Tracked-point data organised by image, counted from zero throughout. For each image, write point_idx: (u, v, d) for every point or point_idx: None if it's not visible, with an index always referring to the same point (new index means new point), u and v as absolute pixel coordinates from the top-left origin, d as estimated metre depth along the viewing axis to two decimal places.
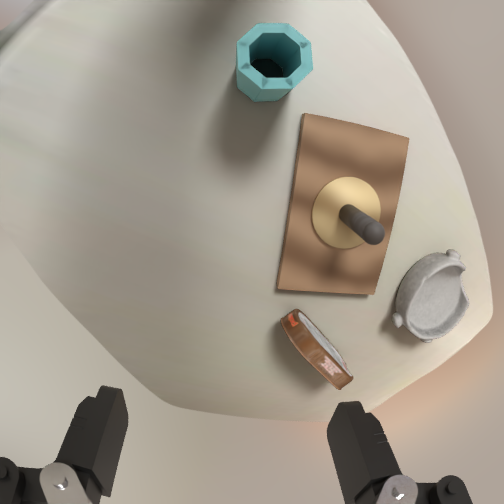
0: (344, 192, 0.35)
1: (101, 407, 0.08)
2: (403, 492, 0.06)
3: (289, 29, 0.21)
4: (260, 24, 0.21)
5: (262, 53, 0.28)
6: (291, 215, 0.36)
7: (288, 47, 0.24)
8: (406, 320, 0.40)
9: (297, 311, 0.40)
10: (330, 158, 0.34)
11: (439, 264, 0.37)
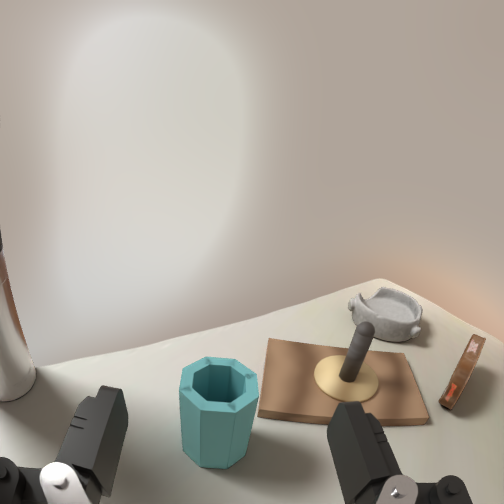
0: (329, 379, 0.36)
1: (101, 407, 0.08)
2: (403, 492, 0.06)
3: (190, 368, 0.25)
4: (180, 388, 0.22)
5: None
6: None
7: (202, 386, 0.26)
8: (413, 322, 0.46)
9: (441, 396, 0.32)
10: (301, 391, 0.34)
11: (363, 309, 0.50)
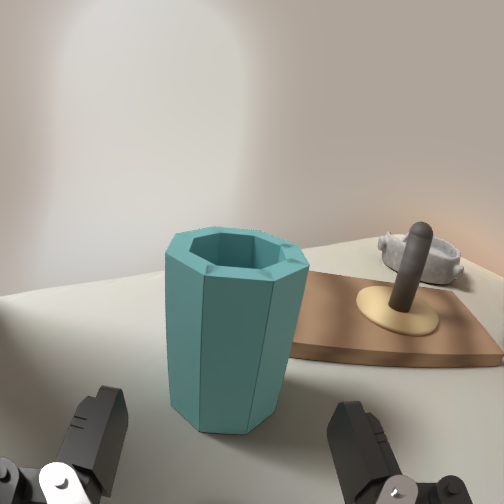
0: (379, 309, 0.27)
1: (101, 407, 0.08)
2: (403, 492, 0.06)
3: (187, 234, 0.16)
4: (169, 250, 0.13)
5: None
6: (431, 352, 0.21)
7: None
8: (455, 259, 0.37)
9: None
10: (345, 322, 0.25)
11: (398, 244, 0.41)
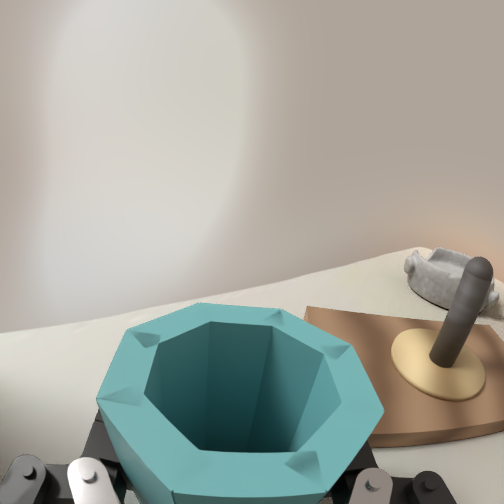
0: (420, 366, 0.19)
1: None
2: (376, 485, 0.06)
3: (148, 330, 0.08)
4: (104, 392, 0.06)
5: None
6: (480, 422, 0.14)
7: (189, 390, 0.09)
8: (491, 284, 0.30)
9: None
10: (381, 390, 0.17)
11: (429, 268, 0.33)
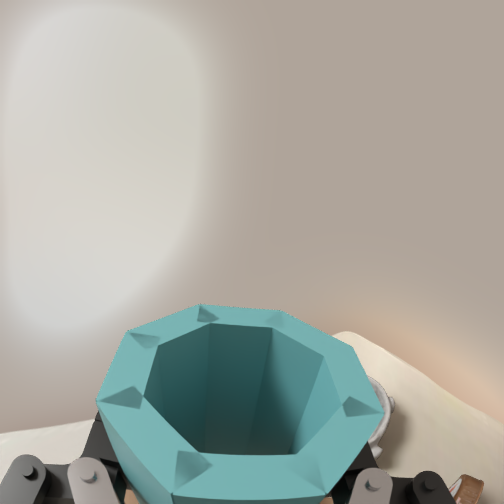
0: None
1: None
2: (376, 485, 0.06)
3: (148, 332, 0.08)
4: (103, 394, 0.05)
5: None
6: None
7: (189, 391, 0.09)
8: (369, 444, 0.25)
9: None
10: None
11: None
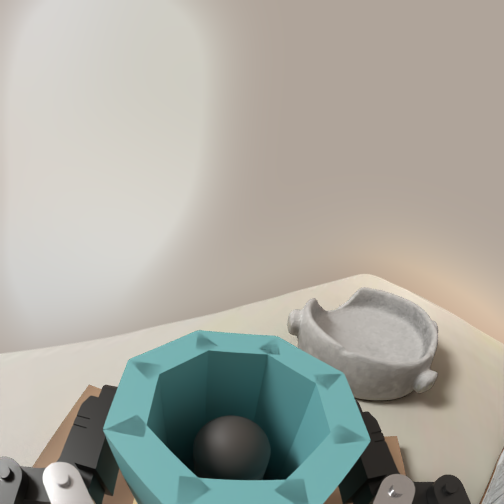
0: None
1: (104, 406, 0.08)
2: (400, 491, 0.06)
3: (149, 360, 0.08)
4: (110, 423, 0.06)
5: None
6: None
7: (189, 411, 0.09)
8: (423, 362, 0.20)
9: None
10: None
11: (314, 335, 0.24)
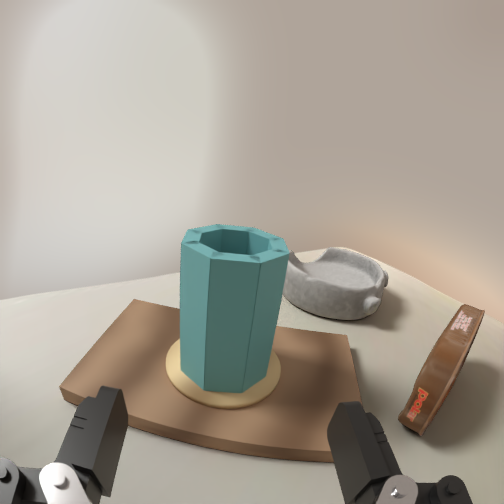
0: None
1: (101, 407, 0.08)
2: (403, 492, 0.06)
3: (197, 229, 0.20)
4: (184, 241, 0.18)
5: None
6: (221, 436, 0.17)
7: None
8: (367, 289, 0.33)
9: None
10: (134, 374, 0.20)
11: (288, 269, 0.36)
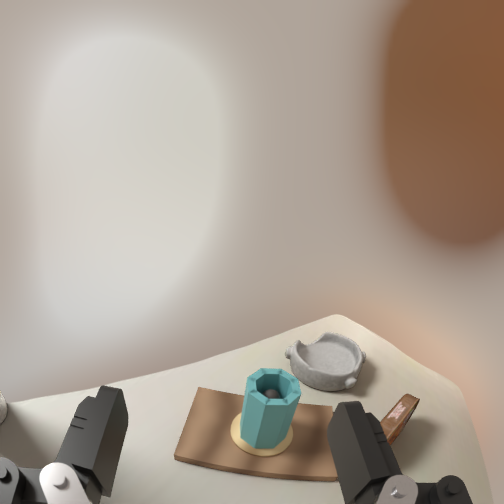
0: None
1: (101, 407, 0.08)
2: (403, 492, 0.06)
3: (252, 377, 0.36)
4: (249, 391, 0.34)
5: None
6: (265, 471, 0.32)
7: (258, 389, 0.37)
8: (348, 374, 0.48)
9: None
10: (214, 442, 0.36)
11: (297, 360, 0.51)
